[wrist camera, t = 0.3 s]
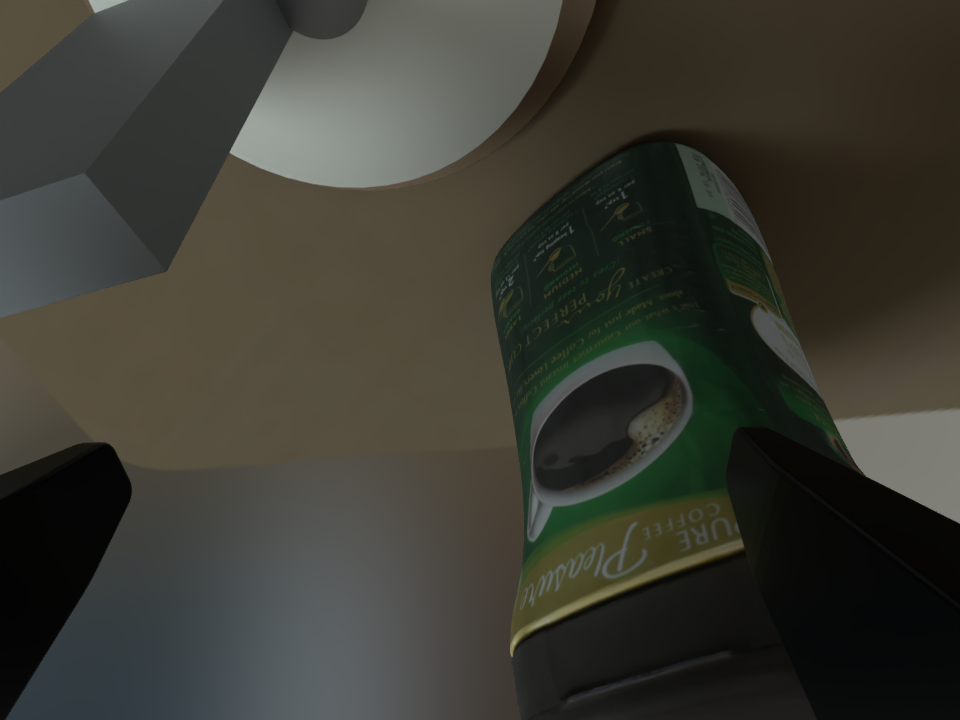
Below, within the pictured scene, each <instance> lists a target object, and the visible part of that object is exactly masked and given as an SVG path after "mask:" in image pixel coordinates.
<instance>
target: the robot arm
mask: <svg viewBox="0 0 960 720" xmlns="http://www.w3.org/2000/svg"><path fill="white" fill-rule="evenodd" d="M726 486H727V491H728V494H729V498H730V501H731V504H732V508H733V511H734V514H735V518H736V521H737V525H738V528H739V531H740V535H741V538H742V541H743V545H744V548H745V551H746V555H747V558H748V561H749V564H750V567H751V571H752V574H753V576H754V579H755V581H756V584H757V586H758V589H759V591H760V593H761V596H762V598H763V600H764V602H765V605H766V607H767V609H768V611H769V614H770V616H771V618H772V620H773V623H774V625H775V627H776V629H777V632H778V634H779V636H780V638H781V641H782V643H783V645H784V647H785V650H786V652H787V654H788V656H789V658H790V661H791V663H792V665H793V667H794V670H795V672H796V674H797V676H798V679H799V681H800V683H801V685H802V688H803V690H804V692H805V694H806V697H807V699H808V701H809V703H810V706H811V708H812V710H813V712H814V715H815V717H816V719H817V720H960V524H959V523H957V522H955V521H953V520H951V519H949V518H947V517H945V516H943V515H941V514H939V513H937V512H935V511H933V510H931V509H930V508H928V507H925V506H923V505H922V504H919V503H918V502H916V501H914V500H912V499H910V498H908V497H906V496H904V495H901V494H900V493H897V492H896V491H894V490H892V489H890V488H888V487H886V486H884V485H882V484H880V483H878V482H876V481H874V480H871V479H870V478H868V477H866V476H864V475H862V474H860V473H858V472H856V471H854V470H852V469H850V468H848V467H846V466H844V465H842V464H840V463H838V462H836V461H834V460H832V459H830V458H828V457H826V456H824V455H822V454H820V453H818V452H816V451H814V450H812V449H810V448H808V447H806V446H804V445H802V444H800V443H798V442H796V441H794V440H792V439H790V438H788V437H786V436H784V435H782V434H780V433H778V432H776V431H774V430H772V429H770V428H768V427H765V426H752V427H739V428H737V429H736V430H735V432H734V434H733V438H732V443H731V448H730V453H729V458H728V463H727V468H726ZM131 494H132V487H131V482H130V480H129V478H128V476H127V473H126V472H125V469H124V468H123V465H122V463H121V461H120V459H119V457H118V455H117V453H116V451H115V450H114V448H113V447H112V446H111V445H110V444H108V443H104V442H96V443H81V444H77V445H74V446H72V447H69V448H67V449H64V450H62V451H59V452H57V453H54V454H52V455H49V456H47V457H44V458H42V459H39V460H37V461H34V462H32V463H30V464H27V465H24V466H22V467H20V468H17V469H14V470H12V471H9V472H7V473H4V474H2V475H0V720H6V718H7V717H8V715H9V713H10V712H11V710H12V708H13V707H14V705H15V704H16V702H17V700H18V699H19V697H20V696H21V694H22V692H23V691H24V689H25V687H26V686H27V684H28V683H29V681H30V679H31V678H32V676H33V675H34V673H35V671H36V670H37V668H38V666H39V665H40V663H41V662H42V660H43V658H44V657H45V655H46V654H47V652H48V650H49V649H50V647H51V646H52V644H53V642H54V641H55V639H56V637H57V636H58V634H59V633H60V631H61V629H62V628H63V626H64V625H65V623H66V621H67V620H68V618H69V616H70V615H71V613H72V612H73V610H74V608H75V607H76V605H77V604H78V602H79V600H80V599H81V597H82V596H83V594H84V592H85V590H86V589H87V587H88V585H89V584H90V582H91V580H92V578H93V576H94V574H95V572H96V570H97V568H98V566H99V564H100V562H101V560H102V558H103V556H104V554H105V552H106V550H107V548H108V545H109V543H110V541H111V539H112V537H113V535H114V533H115V531H116V529H117V527H118V525H119V522H120V521H121V519H122V517H123V515H124V513H125V510H126V508H127V506H128V504H129V502H130V499H131Z"/></svg>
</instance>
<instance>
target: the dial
mask: <svg viewBox="0 0 960 720" xmlns="http://www.w3.org/2000/svg"><path fill="white" fill-rule="evenodd" d="M89 2H90V4H91V6H92V8H93V10H94V12H95V13H94V14H92V15H91V16H90V17H89V18H88V19H86V20H85V21H84V22H83V23H82V24H81V25H79V26H78V27H77V28H76V29H75V30H74V31H72V32H71V33H70V34H69V35H68V36H67V37H65V38H64V39H63V40H62V41H61V42H60V43H58V44H57V45H56V46H55V47H54V48H53V49H51V50H50V51H49V52H48V53H47V54H46V55H44V56H43V57H42V58H41V59H40V60H38V61H37V62H36V63H35V64H34V65H33V66H31V67H30V68H29V69H28V70H27V71H26V72H24V73H23V74H22V75H21V76H20V77H19V78H17V79H16V80H15V81H14V82H13V83H12V84H10V85H9V86H8V87H7V88H6V89H5V90H3V91H2V92H1V93H0V318H1V317H4V316H8V315H11V314H15V313H19V312H22V311H26V310H29V309H33V308H37V307H40V306H44V305H47V304H51V303H55V302H58V301H62V300H65V299H69V298H73V297H76V296H80V295H83V294H87V293H91V292H94V291H98V290H101V289H105V288H109V287H112V286H116V285H119V284H123V283H127V282H130V281H134V280H137V279H141V278H145V277H148V276H152V275H155V274H159V273H163V272H166V271H167V270H168V268H169V266H170V264H171V262H172V260H173V258H174V256H175V255H176V253H177V251H178V249H179V247H180V245H181V243H182V241H183V239H184V238H185V236H186V234H187V232H188V230H189V228H190V226H191V224H192V222H193V220H194V219H195V217H196V215H197V213H198V211H199V209H200V207H201V205H202V203H203V201H204V200H205V198H206V196H207V194H208V192H209V190H210V188H211V186H212V184H213V183H214V181H215V179H216V177H217V175H218V173H219V171H220V169H221V167H222V165H223V164H224V162H225V160H226V158H227V156H228V154H229V153H231V154H232V155H234V156H236V157H238V158H240V159H242V160H244V161H246V162H249V163H251V164H253V165H255V166H257V167H259V168H261V169H264V170H267V171H270V172H272V173H275V174H278V175H281V176H284V177H287V178H291V179H295V180H299V181H303V182H307V183H311V184H317V185H325V186H332V187H351V188H365V187H376V186H386V185H392V184H396V183H401V182H405V181H410V180H413V179H416V178H419V177H422V176H425V175H427V174H430V173H433V172H436V171H438V170H440V169H442V168H444V167H446V166H448V165H450V164H452V163H454V162H455V161H457V160H459V159H460V158H462V157H463V156H465V155H466V154H468V153H469V152H471V151H472V150H474V149H475V148H477V147H478V146H479V145H481V144H482V143H483V142H484V141H485V140H486V139H487V138H488V137H490V136H491V135H492V134H493V133H494V132H495V131H496V130H497V129H499V127H500V126H501V125H502V124H503V123H504V122H505V121H506V119H507V118H508V117H509V116H510V115H511V114H512V112H513V111H514V110H515V109H516V108H517V106H518V105H519V103H520V102H521V100H522V99H523V97H524V96H525V94H526V93H527V91H528V90H529V88H530V87H531V85H532V84H533V82H534V80H535V78H536V76H537V74H538V72H539V70H540V68H541V66H542V64H543V62H544V60H545V58H546V55H547V53H548V50H549V47H550V44H551V42H552V39H553V36H554V33H555V30H556V28H557V23H558V19H559V15H560V10H561V6H562V2H563V0H89Z"/></svg>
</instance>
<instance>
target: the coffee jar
mask: <svg viewBox="0 0 960 720" xmlns="http://www.w3.org/2000/svg"><path fill="white" fill-rule="evenodd" d="M491 290H492V299H493V307H494V315H495V321H496V327H497V332H498V338H499V343H500V348H501V353H502V358H503V362H504V367H505V372H506V378H507V383H508V389H509V395H510V401H511V407H512V414H513V421H514V427H515V434H516V440H517V448H518V455H519V462H520V469H521V479H522V488H523V502H524V552H523V562H522V570H521V577H520V581H519V586H518V591H517V596H516V601H515V606H514V611H513V617H512V626H511V641H510V651H511V656H512V667H513V673H514V678H515V686H516V693H517V701H518V706H519V711H520V716H521V720H817V719H816V717H815V715H814V712H813V710H812V708H811V706H810V703H809V701H808V699H807V697H806V694H805V692H804V690H803V688H802V685H801V683H800V681H799V679H798V676H797V674H796V672H795V670H794V667H793V665H792V663H791V661H790V658H789V656H788V654H787V652H786V650H785V647H784V645H783V643H782V641H781V638H780V636H779V634H778V632H777V629H776V627H775V625H774V623H773V620H772V618H771V616H770V614H769V611H768V609H767V607H766V605H765V602H764V600H763V598H762V596H761V593H760V591H759V589H758V586H757V584H756V581H755V579H754V576H753V574H752V571H751V567H750V564H749V561H748V558H747V555H746V551H745V548H744V545H743V541H742V538H741V535H740V531H739V528H738V525H737V521H736V518H735V514H734V511H733V508H732V504H731V501H730V498H729V494H728V491H727V486H726V468H727V463H728V458H729V453H730V448H731V443H732V438H733V434H734V432H735V430H736V429H737V428H739V427H752V426H765V427H768V428H770V429H772V430H774V431H776V432H778V433H780V434H782V435H784V436H786V437H788V438H790V439H792V440H794V441H796V442H798V443H800V444H802V445H804V446H806V447H808V448H810V449H812V450H814V451H816V452H818V453H820V454H822V455H824V456H826V457H828V458H830V459H832V460H834V461H836V462H838V463H840V464H842V465H844V466H846V467H848V468H850V469H852V470H854V471H856V472H858V473H860V474H862V475H864V474H863V472H862V471H861V470H860V469H859V468H858V466H857V465H856V464H855V462H854V461H853V459H852V457H851V455H850V453H849V451H848V449H847V447H846V445H845V443H844V441H843V439H842V438H841V436H840V434H839V432H838V430H837V428H836V426H835V424H834V422H833V420H832V417H831V415H830V413H829V411H828V409H827V407H826V405H825V403H824V401H823V399H822V397H821V394H820V392H819V390H818V388H817V385H816V383H815V380H814V378H813V375H812V373H811V370H810V367H809V365H808V363H807V360H806V357H805V355H804V352H803V349H802V346H801V344H800V341H799V338H798V335H797V333H796V330H795V327H794V324H793V321H792V318H791V315H790V312H789V309H788V306H787V303H786V301H785V298H784V295H783V292H782V289H781V285H780V282H779V279H778V277H777V274H776V271H775V268H774V265H773V262H772V260H771V257H770V254H769V251H768V249H767V246H766V244H765V241H764V239H763V237H762V234H761V232H760V230H759V227H758V225H757V223H756V221H755V219H754V217H753V215H752V213H751V211H750V210H749V208H748V206H747V204H746V202H745V201H744V199H743V197H742V196H741V194H740V193H739V191H738V190H737V188H736V187H735V185H734V184H733V183H732V182H731V180H730V179H729V178H728V177H727V176H726V175H725V174H724V173H723V172H722V170H721V169H720V168H719V167H718V166H717V165H715V164H714V163H713V162H712V161H711V160H710V159H708V158H707V157H706V156H705V155H703V154H702V153H700V152H699V151H698V150H695V149H693V148H691V147H689V146H687V145H683V144H679V143H675V142H668V141H658V142H649V143H642V144H638V145H635V146H633V147H630V148H628V149H625V150H623V151H621V152H620V153H618V154H616V155H614V156H613V157H611V158H609V159H607V160H606V161H604V162H602V163H601V164H599V165H598V166H596V167H595V168H593V169H592V170H590V171H589V172H587V173H586V174H585V175H583V176H581V177H580V178H578V179H577V180H576V181H574V182H573V183H572V184H570V185H569V186H567V187H566V188H565V189H564V190H562V191H561V192H560V193H559V194H557V195H556V196H555V197H554V198H553V199H551V200H550V201H549V202H548V203H546V204H545V205H544V206H543V207H542V208H541V209H540V210H538V211H537V212H536V213H535V214H534V215H533V216H532V217H530V218H529V219H528V220H527V221H526V222H525V223H524V224H523V225H522V226H521V227H520V228H519V229H518V230H517V231H516V232H515V233H514V234H513V236H512V237H511V238H510V239H509V240H508V241H507V242H506V243H505V244H504V246H503V247H502V248H501V250H500V251H499V253H498V255H497V257H496V259H495V262H494V265H493V269H492V273H491ZM864 476H865V475H864Z"/></svg>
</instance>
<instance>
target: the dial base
mask: <svg viewBox="0 0 960 720" xmlns="http://www.w3.org/2000/svg"><path fill="white" fill-rule="evenodd" d="M83 2H84V4H85V5H86V7H87V8H88V10H89V12H90V13H91V15H92V14H94V13H95V12H94V10H93V8H92V6H91V4H90V2H89V0H83ZM595 3H596V0H563V2H562V6H561V10H560V15H559V19H558V23H557V28H556V30H555V33H554V36H553V39H552V42H551V44H550V47H549V50H548V53H547V55H546V58H545V60H544V62H543V64H542V66H541V68H540V70H539V72H538V74H537V76H536V78H535V80H534V82H533V84H532V85H531V87H530V88H529V90H528V91H527V93H526V94H525V96H524V97H523V99H522V100H521V102H520V103H519V105H518V106H517V108H516V109H515V110H514V111H513V112H512V114H511V115H510V116H509V117H508V118H507V119H506V121H505V122H504V123H503V124H502V125H501V126H500V127H499V129H497V130H496V131H495V132H494V133H493V134H492V135H491V136H490V137H488V138H487V139H486V140H485V141H484V142H483V143H482V144H481V145H479V146H478V147H477V148H475V149H474V150H472V151H471V152H469V153H468V154H466V155H465V156H463V157H462V158H460V159H459V160H457V161H455V162H454V163H452V164H450V165H448V166H446V167H444V168H442V169H440V170H438V171H436V172H433V173H430V174H427V175H425V176H422V177H419V178H416V179H413V180H410V181H405V182H401V183H396V184H392V185H386V186H376V187H365V188H351V187H332V186H325V185H317V184H313V185H317V186H321V187H329V188H336V189H344V190H369V191H377V190H387V189H398V188H405V187H410V186H414V185H419V184H423V183H428V182H431V181H434V180H437V179H440V178H442V177H445V176H448V175H451V174H454V173H456V172H458V171H460V170H462V169H464V168H466V167H468V166H470V165H472V164H474V163H476V162H478V161H480V160H481V159H483V158H484V157H486V156H487V155H489V154H490V153H492V152H493V151H495V150H496V149H498V148H499V147H501V146H502V145H504V144H505V143H506V142H507V141H508V140H509V139H511V138H512V137H513V136H514V135H515V134H516V133H517V132H519V131H520V130H521V129H522V128H523V127H524V126H525V125H526V124H527V123H528V122H529V121H530V120H531V119H532V118H533V117H534V115H535V114H536V113H537V112H538V111H539V110H540V109H541V108H542V107H543V105H544V104H545V103H546V102H547V100H548V99H549V97H550V96H551V95H552V93H553V92H554V90H555V89H556V87H557V86H558V85H559V83H560V82H561V80H562V79H563V77H564V76H565V74H566V72H567V70H568V68H569V66H570V64H571V62H572V61H573V59H574V57H575V55H576V53H577V51H578V49H579V47H580V45H581V42H582V40H583V37H584V35H585V32H586V30H587V27H588V25H589V22H590V19H591V17H592V14H593V11H594V7H595ZM289 179H291V178H289ZM292 180H295V179H292ZM296 181H299V180H296ZM300 182H303V181H300ZM304 183H307V182H304ZM308 184H311V183H308Z"/></svg>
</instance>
